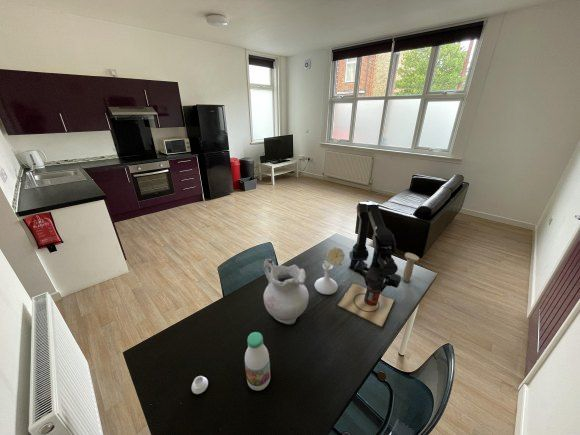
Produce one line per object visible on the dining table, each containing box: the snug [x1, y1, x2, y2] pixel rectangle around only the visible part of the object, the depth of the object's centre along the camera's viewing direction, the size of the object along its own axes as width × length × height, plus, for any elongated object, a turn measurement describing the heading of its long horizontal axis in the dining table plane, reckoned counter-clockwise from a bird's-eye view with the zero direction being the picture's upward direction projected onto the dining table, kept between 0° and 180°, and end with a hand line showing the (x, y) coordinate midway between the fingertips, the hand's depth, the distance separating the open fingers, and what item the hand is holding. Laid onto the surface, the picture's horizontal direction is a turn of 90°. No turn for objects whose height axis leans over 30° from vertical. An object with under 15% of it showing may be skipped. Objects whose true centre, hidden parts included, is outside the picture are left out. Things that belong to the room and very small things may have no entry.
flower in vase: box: [314, 246, 345, 295], centre depth 113 cm, size 13×11×25 cm
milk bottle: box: [244, 331, 271, 391], centre depth 76 cm, size 8×8×20 cm
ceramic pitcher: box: [263, 257, 310, 325], centre depth 101 cm, size 22×20×25 cm
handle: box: [402, 252, 420, 283], centre depth 121 cm, size 5×6×15 cm
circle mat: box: [337, 282, 395, 328], centre depth 110 cm, size 20×18×1 cm
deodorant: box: [364, 282, 384, 306], centre depth 107 cm, size 6×6×15 cm
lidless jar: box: [191, 375, 209, 395], centre depth 77 cm, size 5×3×5 cm
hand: (374, 288), depth 106 cm, fingers closed on deodorant, 6 cm apart
